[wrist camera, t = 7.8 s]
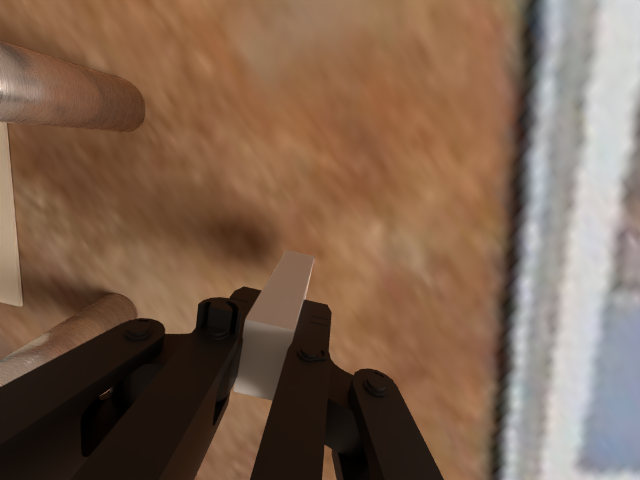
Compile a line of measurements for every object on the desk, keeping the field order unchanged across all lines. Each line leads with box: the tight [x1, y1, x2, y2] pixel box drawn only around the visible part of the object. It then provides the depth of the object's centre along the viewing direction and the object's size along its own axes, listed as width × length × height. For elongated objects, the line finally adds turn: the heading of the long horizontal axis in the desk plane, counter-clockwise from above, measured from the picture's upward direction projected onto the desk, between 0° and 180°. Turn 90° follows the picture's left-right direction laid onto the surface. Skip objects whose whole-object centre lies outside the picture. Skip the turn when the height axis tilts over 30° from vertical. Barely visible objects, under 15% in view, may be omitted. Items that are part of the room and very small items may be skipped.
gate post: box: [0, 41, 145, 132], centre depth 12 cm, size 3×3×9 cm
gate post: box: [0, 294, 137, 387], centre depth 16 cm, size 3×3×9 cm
